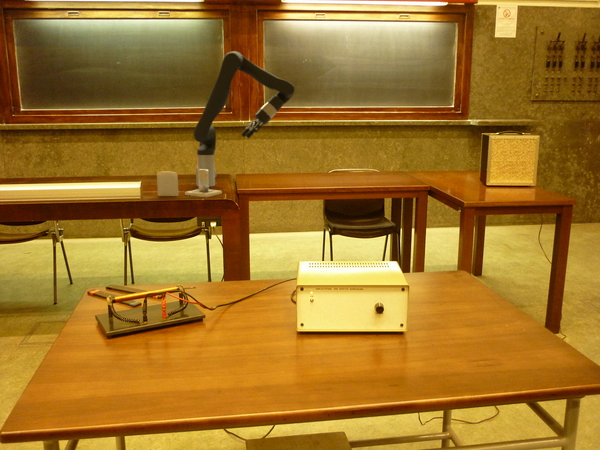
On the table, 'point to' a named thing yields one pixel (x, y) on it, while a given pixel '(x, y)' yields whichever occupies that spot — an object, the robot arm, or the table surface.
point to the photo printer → (167, 183)
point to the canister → (203, 180)
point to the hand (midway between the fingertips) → (244, 136)
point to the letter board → (203, 193)
